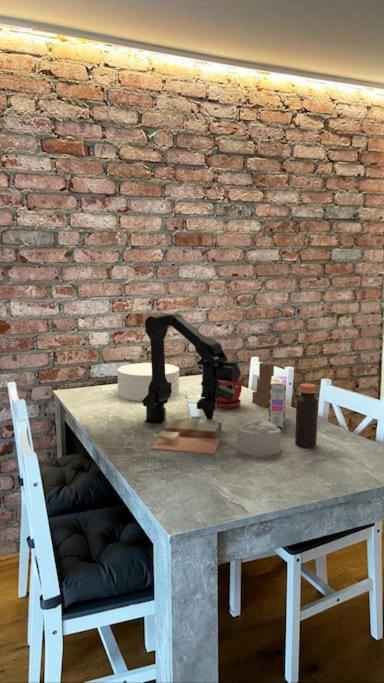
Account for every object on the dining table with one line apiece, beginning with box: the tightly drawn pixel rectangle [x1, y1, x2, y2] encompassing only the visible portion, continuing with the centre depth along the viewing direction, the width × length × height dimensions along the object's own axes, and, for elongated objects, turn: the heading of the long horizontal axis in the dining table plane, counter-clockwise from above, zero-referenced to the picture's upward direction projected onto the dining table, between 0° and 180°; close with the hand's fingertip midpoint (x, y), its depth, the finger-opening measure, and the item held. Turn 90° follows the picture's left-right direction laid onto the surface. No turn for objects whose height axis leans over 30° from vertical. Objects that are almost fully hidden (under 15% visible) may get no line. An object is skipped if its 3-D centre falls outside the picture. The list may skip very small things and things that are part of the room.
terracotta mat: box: [151, 436, 221, 455], centre depth 164 cm, size 20×12×1 cm, turn 78°
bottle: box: [294, 383, 319, 449], centre depth 163 cm, size 7×7×20 cm
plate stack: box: [117, 362, 180, 402], centre depth 229 cm, size 28×28×12 cm
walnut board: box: [164, 418, 223, 439], centre depth 175 cm, size 18×10×3 cm, turn 78°
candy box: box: [268, 375, 287, 429], centre depth 187 cm, size 14×6×16 cm, turn 168°
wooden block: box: [251, 361, 275, 408], centre depth 211 cm, size 9×4×18 cm, turn 27°
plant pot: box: [216, 376, 243, 409], centre depth 210 cm, size 13×13×12 cm
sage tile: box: [198, 418, 219, 432], centre depth 170 cm, size 6×5×2 cm
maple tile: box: [156, 430, 179, 445], centre depth 165 cm, size 6×5×2 cm
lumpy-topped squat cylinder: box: [237, 419, 282, 457], centre depth 159 cm, size 10×13×9 cm
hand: (210, 422), depth 174 cm, fingers closed
